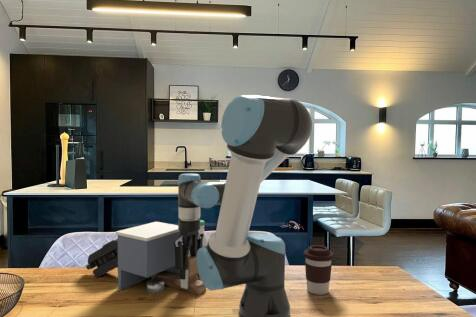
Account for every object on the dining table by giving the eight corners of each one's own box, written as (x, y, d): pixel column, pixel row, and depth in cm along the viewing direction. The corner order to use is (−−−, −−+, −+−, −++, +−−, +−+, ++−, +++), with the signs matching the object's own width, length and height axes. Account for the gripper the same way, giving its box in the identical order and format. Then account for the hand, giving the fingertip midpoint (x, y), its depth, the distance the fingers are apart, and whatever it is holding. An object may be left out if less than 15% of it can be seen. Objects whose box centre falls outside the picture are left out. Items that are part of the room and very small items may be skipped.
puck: (168, 287, 124) (167, 279, 124) (158, 294, 119) (158, 286, 118) (153, 284, 126) (153, 277, 126) (143, 292, 121) (142, 284, 121)
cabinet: (185, 280, 130) (185, 226, 130) (146, 299, 114) (146, 238, 113) (156, 272, 138) (156, 221, 138) (115, 289, 122) (115, 231, 121)
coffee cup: (308, 283, 130) (309, 242, 129) (336, 289, 125) (337, 246, 124) (298, 292, 121) (299, 249, 121) (327, 299, 116) (328, 254, 115)
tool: (136, 273, 129) (118, 236, 130) (95, 295, 133) (77, 259, 134) (144, 267, 135) (126, 232, 136) (105, 288, 139) (87, 254, 140)
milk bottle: (186, 269, 142) (186, 219, 142) (204, 266, 146) (204, 218, 145) (191, 275, 135) (192, 223, 135) (210, 272, 139) (211, 222, 138)
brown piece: (206, 290, 122) (206, 259, 122) (198, 294, 119) (199, 262, 118) (159, 277, 134) (159, 248, 133) (151, 280, 130) (151, 250, 130)
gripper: (196, 213, 132) (196, 275, 133) (163, 221, 117) (163, 291, 118) (212, 215, 128) (212, 279, 129) (181, 224, 113) (180, 296, 114)
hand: (188, 285), depth 123 cm, fingers closed on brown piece, 4 cm apart
